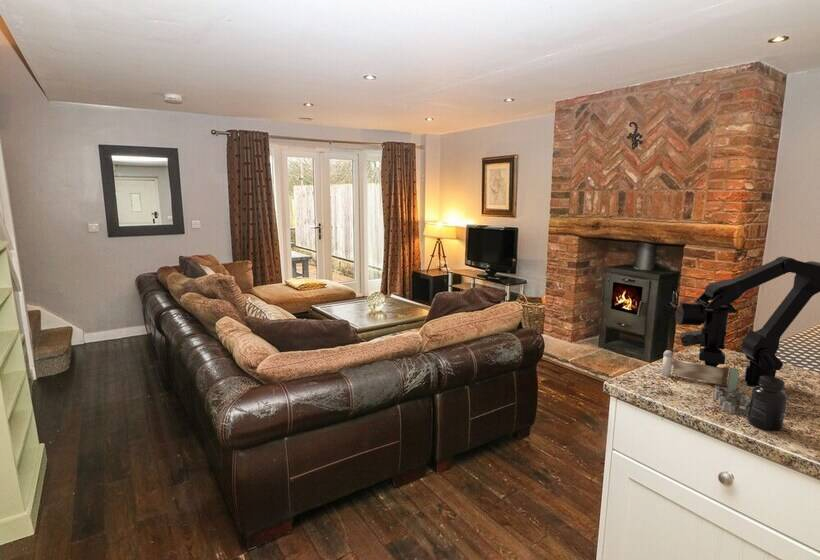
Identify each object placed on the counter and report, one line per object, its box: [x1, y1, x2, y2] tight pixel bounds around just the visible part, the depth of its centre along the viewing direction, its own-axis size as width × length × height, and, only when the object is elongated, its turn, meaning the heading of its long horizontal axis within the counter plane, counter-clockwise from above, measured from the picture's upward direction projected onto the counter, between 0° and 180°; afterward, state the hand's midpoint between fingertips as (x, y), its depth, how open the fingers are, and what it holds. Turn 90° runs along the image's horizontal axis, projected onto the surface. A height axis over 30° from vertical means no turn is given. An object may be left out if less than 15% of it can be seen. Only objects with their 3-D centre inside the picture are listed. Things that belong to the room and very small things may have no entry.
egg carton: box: [714, 385, 751, 416], centre depth 123 cm, size 11×8×4 cm
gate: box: [672, 359, 730, 386], centre depth 138 cm, size 14×2×5 cm, turn 57°
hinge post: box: [661, 349, 674, 377], centre depth 143 cm, size 3×3×8 cm
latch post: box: [727, 367, 740, 391], centre depth 134 cm, size 2×4×5 cm, turn 147°
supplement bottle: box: [747, 376, 788, 432], centre depth 112 cm, size 7×7×12 cm
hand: (708, 374), depth 140 cm, fingers closed
